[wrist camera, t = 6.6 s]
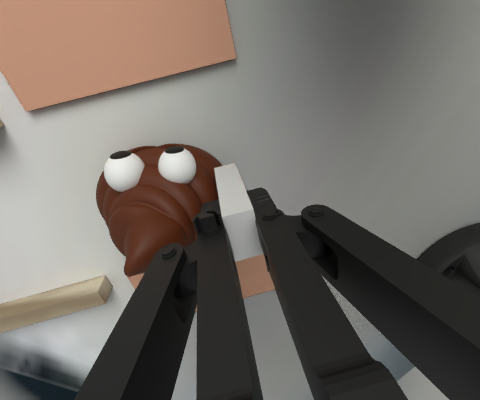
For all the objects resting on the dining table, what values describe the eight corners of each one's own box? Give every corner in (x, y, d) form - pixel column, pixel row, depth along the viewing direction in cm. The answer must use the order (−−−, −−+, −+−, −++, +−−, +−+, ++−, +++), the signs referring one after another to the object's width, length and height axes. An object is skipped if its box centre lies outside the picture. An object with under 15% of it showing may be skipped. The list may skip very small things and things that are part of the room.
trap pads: (280, 284, 27) (281, 287, 27) (156, 319, 26) (155, 322, 26) (206, -89, 13) (206, -93, 13) (-54, -28, 13) (-62, -30, 12)
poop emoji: (120, 238, 21) (71, 341, 13) (86, 141, 17) (-15, 201, 9) (233, 224, 22) (253, 310, 14) (225, 129, 18) (247, 172, 10)
